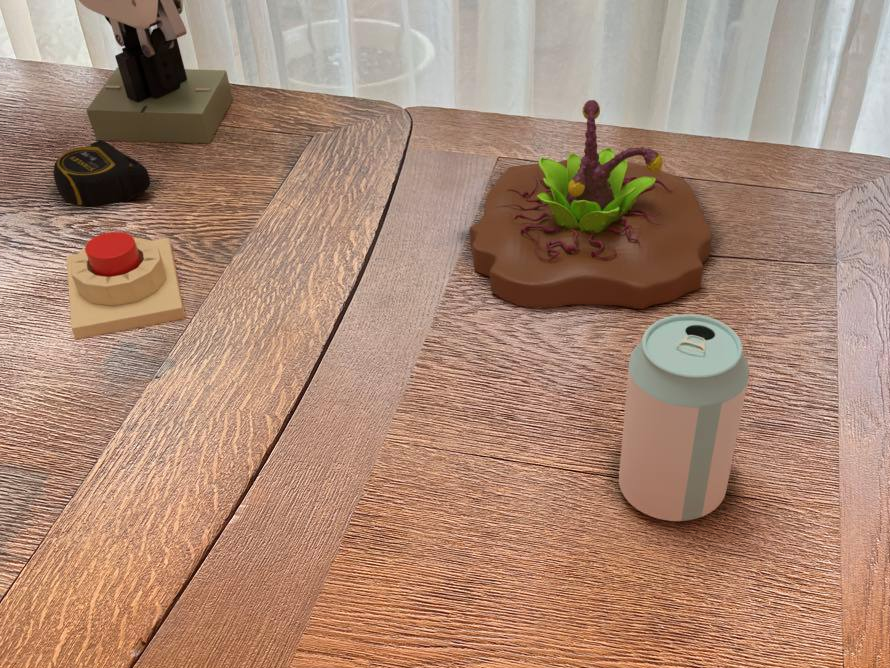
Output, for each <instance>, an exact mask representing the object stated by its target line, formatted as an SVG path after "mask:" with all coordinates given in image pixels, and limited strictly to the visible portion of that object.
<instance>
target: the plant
mask: <svg viewBox="0 0 890 668" xmlns="http://www.w3.org/2000/svg"><path fill="white" fill-rule="evenodd" d="M600 106H601V105H600V104H599V102H597V100H595V99H590V100H587V101H586V102H584V104H583V107H582V115H583V117H584V119H586V131H585V132H584V136H585V141H584V146H585V147H584V149H583V153H584V155H583V156H582V157H580V156H579V155H578V154H576V153H574V152H572V153H570V154H568V156H567V159H564V160H561V161H556V160H554V159H550V158H546V157H540V158H539V159H538V163H528V164H521V165H512V166H511V165H510V166H509V167H508V168H507V170H505V171H504V172H503V173H502V174H501V175H499V178H498V179H497V181H496V183H495V185H493V186H492V187H491V189H490V190H489V191H488V193H487V195H486V199H485V200H486V201H485V205H484V211H483V215H482V217H481V218H480V220H478V222H476V223H474V224H473V225H471V226H469V245H470V249H472V262H473V269H474V270H475V272H477V273H479V274H481V275H483V276H486V277H489V287H490V292H491V293H492V294H494V295H495V296H498V297H499V298H501V299H502V300H504V301H507V302H509V303H511V304H515V305H517V306H521V307H525V308H531V309H532V308H533V309H535V308H536V309H537V308H538V309H539V308H540V309H543V308H544V309H545V308H556V307H564V306H573V305H597V306H598V305H599V306H620V307H626V308H631V309H637V310H639V309H640V310H641V309H646V308H649V307H651V306H654V305H662V304H666V303H669V302H673V301H675V300H677V299H679V298H680V297H682V296H684V295H686V294H688V293H692V292H696V291H698V290H700V288H702V287H701V286H702V279H703V272H704V264H703V263H704V262H706V261H707V260H708V259H709V257H710V255H711V249H712V241H713V234H712V231H711V228H710V226H709V225H708V223H707V219H706V218H705V216H704V214H703V211H702V208H701V206H700V203H699V201H698V199H697V196H696V194H695V192H694V190H693V188H692V187H691V186H690V184H689V183H688V181H687V180H686V179H685V178H683V177H681V176H677V175H674V174H672V173H669V172H666V171H663V170H662V167H663V158H662V156H661V154H660V153H659V152H657V151H655V150H653V149H652V148H649V147H646V148H645V147H643V146H642V147H628V148H627V149H625V150H622V151H620V152H619V153H618V154H616V153H615V151H614V150H613V148H612V147H606V148H603V149H602V150H600V151H598V142H597V141H598V140H597V139H598V137H597V125H596V120H597V119H598V117H599V116H600V114H601V107H600ZM636 156H641V157H643V159H644V163H645V164H640V163H636V162H629V161H628V160H627V159H628V158H632V157H636Z"/></svg>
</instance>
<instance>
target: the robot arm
mask: <svg viewBox="0 0 890 668" xmlns="http://www.w3.org/2000/svg"><path fill="white" fill-rule="evenodd" d="M78 2H80V4H81V5H82V6H83V7H85V8H86V9H88V10H89V11H92V12H94V13H96V14H99V15H101V16H104V19H105V20H106V21H107V22H108V24H109V25H110V26H111V30H112V32H113V36H114V39H115V41H116V43H117V44H118V46H119V47H121V50H122V52H125V51H127V50H129V49H132V48H134V47H136V46H139V45H141V48H142V51H143V53H144V54H142V55H140V60H141V64H142V67H143V71H144V74H145V78H146V81H147V85H148V88H149V92H150V95H151V96H152V97H154V98H156V99H158V98H160V97H162V96H165V95H167V94H169V93H171V92H173V91H175V90H177V89H179V88H180V81H179V77H178V73H177V69H176V65H175V61H174V57H173V54H172V50H171V48H172V47H174V42H173V40H174V39H176V38H177V39H179V38H181V37H183V36H186V35H187V28H186V25H185V24H184V21H183V19H182V17H181V14H182V13H183V10H184V0H78ZM154 26H156V28H155V27H154ZM152 27H154V28H153V29H152V31H150V28H152Z"/></svg>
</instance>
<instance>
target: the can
mask: <svg viewBox="0 0 890 668" xmlns="http://www.w3.org/2000/svg"><path fill="white" fill-rule="evenodd" d="M743 349H744V347H743V343H742V340H741V338H740V336H739V335H738V334H737V333H736V331H735V330H734V329H732V327H730V326H728V325H727V324H725V323H724V322H722V321H720V320H719V319H715V318H713V317H710V316H706V315H701V314H690V313H684V314H682V313H681V314H675V315H674V314H673V315H670V316H667V317H663V318H661V319H659V320H657V321H655V322H653V323H652V324H651V325H649V327H647V328H646V329H645V331H644V333H643V335H642V339H641V340H640V342H639V343H638V344H637V345H636V346H635V347H634V348H633V350H632V352H631V354H630V355H629V360H628V368H627V369H628V370H627V379H626V390H625V391H626V392H625V403H624V414H623V426H622V437H621V450H620V458H619V459H620V462H619V471H618V472H619V473H618V485H619V488H620V492H621V494H622V495H623V497H624V498H625V499H626V501H627V502H628V504H630V505H631V506H632V507H634V508H635V509H636V510H637V511H639V512H641V513H643V514H645V515H647V516H650V517H652V518H655V519H659V520H663V521H669V522H685V521H686V522H687V521H692V520H695V519H699V518H702V517H705V516H707V515H708V514H711V513H712V512H713V511H715V510H716V509H717V508H718V507H719V506H720V505H721V503H722V502H723V500H724V499H725V497H726V493H727V489H728V484H729V479H730V474H731V470H732V463H733V459H734V454H735V449H736V444H737V439H738V433H739V429H740V425H741V418H742V415H743V409H744V404H745V400H746V394H747V390H748V389H747V388H748V383H749V380H750V379H749V378H750V367H749V363H748V360H747V358H746V355H745V354H744V352H743Z"/></svg>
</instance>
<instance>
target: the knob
mask: <svg viewBox="0 0 890 668" xmlns="http://www.w3.org/2000/svg"><path fill="white" fill-rule="evenodd" d="M173 42H174V47H172V48H171V50H172V54H173V57H174V61H175V65H176V69H177V73H178V77H179V81H180V83H181V82H184V81H186V80H187V76H186V72H185V69H186V68H185V65H184V61H183V55H182V53H181V49H180V46H179V41H178V38H176V39H174V40H173ZM142 54H144V53H143V51H142V48H141V45H139V46H136V47H134V48H132V49H129V50H127V51H125V52H123V51H122V52H120V53H117V54H116V55H114V57H115V61H116V65H117V67H118V68H119V71H120V74H121V78H122V81H123V84H124V88H125V91H126V94H127V97H128V98H129V99H131V100H134V101H136V102H140V101H142V100H145V99H147V98H149V97H151V95H150V92H149V88H148V85H147V81H146V78H145V74H144V71H143V67H142V64H141V60H140V55H142Z"/></svg>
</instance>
